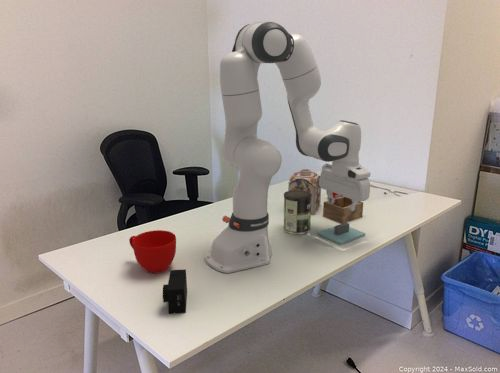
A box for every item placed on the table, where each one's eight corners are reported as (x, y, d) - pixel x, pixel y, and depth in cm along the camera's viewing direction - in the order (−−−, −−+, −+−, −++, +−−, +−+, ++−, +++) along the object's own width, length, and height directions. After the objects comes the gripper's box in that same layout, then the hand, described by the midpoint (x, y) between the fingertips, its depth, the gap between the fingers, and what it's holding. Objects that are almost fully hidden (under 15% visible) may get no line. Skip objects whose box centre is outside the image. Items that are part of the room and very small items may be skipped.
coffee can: (311, 225, 158) (312, 190, 154) (309, 235, 149) (310, 199, 144) (284, 223, 160) (285, 189, 156) (281, 233, 151) (282, 197, 146)
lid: (340, 247, 139) (341, 234, 138) (317, 237, 148) (318, 224, 147) (365, 238, 147) (366, 225, 145) (341, 228, 155) (342, 216, 154)
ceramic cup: (146, 252, 137) (144, 224, 134) (186, 264, 128) (184, 235, 125) (116, 269, 126) (113, 239, 123) (158, 283, 118) (155, 251, 115)
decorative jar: (314, 217, 166) (316, 174, 161) (287, 213, 170) (287, 172, 165) (320, 207, 177) (322, 167, 171) (294, 204, 181) (295, 165, 175)
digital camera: (167, 292, 113) (165, 269, 111) (187, 291, 114) (185, 268, 112) (164, 314, 103) (162, 290, 101) (185, 313, 104) (184, 288, 102)
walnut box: (341, 225, 157) (342, 208, 155) (322, 218, 165) (323, 201, 163) (362, 218, 164) (363, 202, 162) (343, 211, 172) (344, 196, 169)
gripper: (316, 163, 146) (313, 200, 150) (362, 175, 130) (357, 216, 134) (328, 161, 149) (325, 197, 153) (374, 173, 134) (370, 213, 137)
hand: (341, 206), depth 143 cm, fingers open, 8 cm apart
